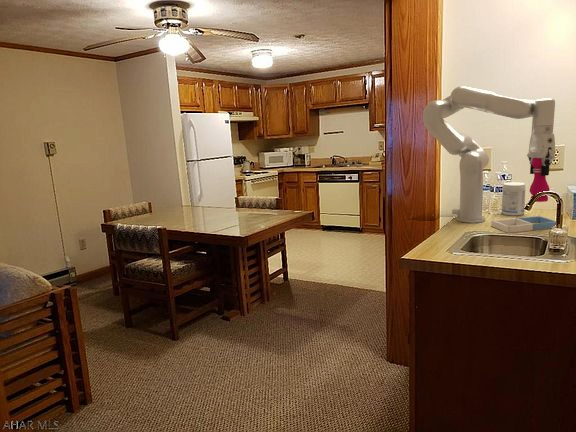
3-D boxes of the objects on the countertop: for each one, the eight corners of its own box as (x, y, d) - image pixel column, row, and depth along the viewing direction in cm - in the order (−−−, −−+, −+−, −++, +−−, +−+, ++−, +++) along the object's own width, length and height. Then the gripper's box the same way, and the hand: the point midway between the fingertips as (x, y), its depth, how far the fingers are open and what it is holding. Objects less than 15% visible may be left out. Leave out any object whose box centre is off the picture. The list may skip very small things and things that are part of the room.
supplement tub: (514, 210, 208) (515, 181, 205) (529, 214, 199) (530, 183, 196) (497, 213, 206) (498, 183, 203) (511, 216, 197) (512, 185, 194)
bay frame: (507, 232, 173) (507, 226, 172) (491, 225, 184) (491, 220, 183) (558, 227, 175) (559, 221, 174) (539, 221, 186) (539, 216, 185)
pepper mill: (552, 201, 172) (553, 152, 169) (532, 202, 174) (534, 153, 170) (545, 199, 179) (546, 151, 176) (526, 199, 181) (527, 152, 177)
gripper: (566, 130, 163) (562, 176, 167) (536, 129, 180) (533, 171, 184) (548, 131, 162) (545, 177, 166) (519, 130, 179) (517, 173, 183)
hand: (539, 174), depth 175 cm, fingers closed on pepper mill, 5 cm apart
